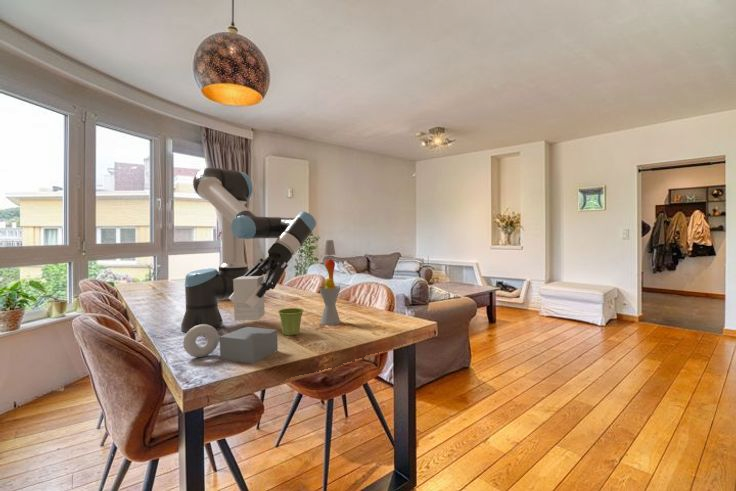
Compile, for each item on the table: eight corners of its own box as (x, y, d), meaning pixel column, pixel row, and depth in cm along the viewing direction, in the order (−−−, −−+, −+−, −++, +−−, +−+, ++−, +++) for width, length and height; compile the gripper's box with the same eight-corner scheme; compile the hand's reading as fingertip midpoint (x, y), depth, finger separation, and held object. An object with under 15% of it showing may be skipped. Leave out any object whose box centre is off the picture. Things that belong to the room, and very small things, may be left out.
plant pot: (306, 330, 137) (306, 308, 137) (299, 337, 128) (299, 313, 128) (283, 329, 138) (283, 307, 138) (274, 336, 129) (274, 313, 129)
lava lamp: (321, 319, 154) (321, 239, 153) (342, 319, 154) (341, 239, 153) (317, 325, 145) (316, 240, 144) (339, 325, 145) (338, 240, 144)
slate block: (220, 359, 106) (219, 336, 106) (247, 347, 117) (246, 326, 117) (253, 364, 102) (252, 340, 102) (277, 351, 113) (277, 330, 113)
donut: (184, 361, 104) (183, 328, 103) (182, 358, 106) (182, 325, 106) (220, 355, 109) (219, 323, 109) (218, 352, 112) (217, 320, 112)
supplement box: (265, 315, 113) (264, 275, 112) (258, 320, 105) (257, 278, 105) (242, 315, 113) (241, 275, 112) (233, 320, 105) (232, 278, 105)
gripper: (311, 258, 112) (268, 315, 101) (272, 255, 128) (231, 305, 116) (297, 241, 108) (251, 299, 97) (258, 241, 124) (214, 291, 112)
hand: (240, 303), depth 107 cm, fingers closed on supplement box, 10 cm apart
